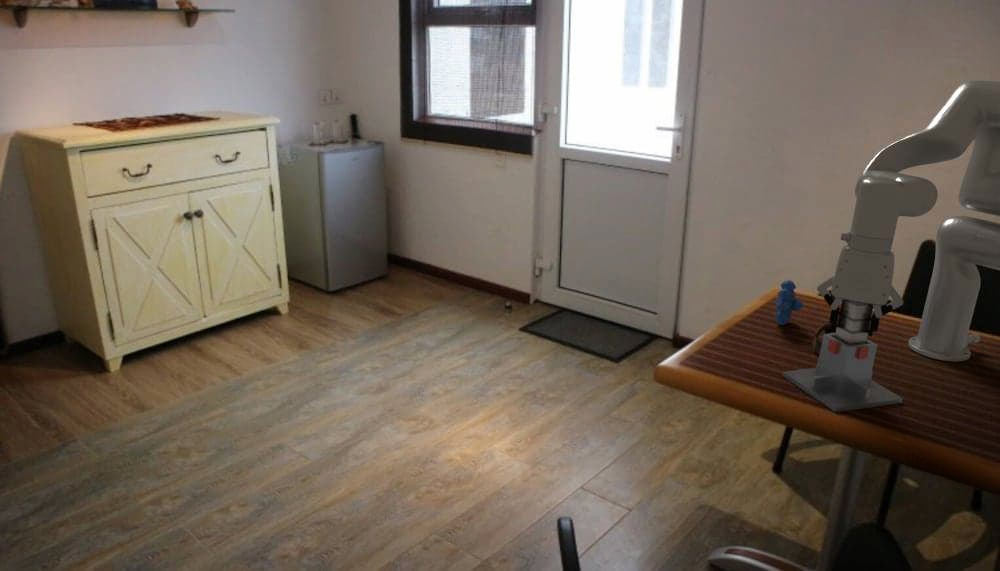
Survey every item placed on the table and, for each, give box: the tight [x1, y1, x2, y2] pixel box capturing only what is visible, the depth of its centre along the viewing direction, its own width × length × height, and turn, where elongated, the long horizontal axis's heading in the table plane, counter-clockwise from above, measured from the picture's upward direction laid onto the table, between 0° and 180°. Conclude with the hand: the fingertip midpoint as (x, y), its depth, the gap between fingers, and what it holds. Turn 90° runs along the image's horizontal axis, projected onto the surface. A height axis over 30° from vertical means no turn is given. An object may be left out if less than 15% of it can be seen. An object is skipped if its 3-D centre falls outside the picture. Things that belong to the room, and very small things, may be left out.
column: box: [835, 300, 874, 346], centre depth 149 cm, size 4×4×19 cm
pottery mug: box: [812, 320, 837, 353], centre depth 170 cm, size 12×10×8 cm
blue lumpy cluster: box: [774, 279, 805, 326], centre depth 183 cm, size 12×7×12 cm, turn 150°
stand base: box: [781, 333, 904, 413], centre depth 151 cm, size 16×16×11 cm
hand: (852, 329), depth 149 cm, fingers closed on column, 6 cm apart
